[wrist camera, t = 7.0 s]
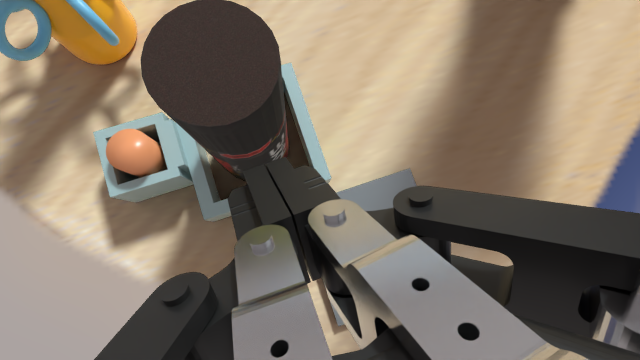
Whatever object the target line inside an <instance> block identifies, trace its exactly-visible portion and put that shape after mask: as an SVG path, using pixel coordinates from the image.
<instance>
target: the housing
mask: <svg viewBox="0 0 640 360" xmlns="http://www.w3.org/2000/svg"><path fill="white" fill-rule="evenodd" d="M281 70H282V81H283V91H284V93H285V96H286V98H287V101H288V104H289V107H290V110H291V113H292V116H293V119H294V122H295V125H296V128H297V131H298V134H299V137H300V139H301V142H302V145H303V148H304V151H305V154H306V157H307V160H308V163H309V166H310V167H312V168H314V169H316V170H317V171H318V172H319V174H320V175H321V177H323V178H324V180H325V181H326V183H329V182H330V180H331V176H330V173H329V170H328V167H327V164H326V162H325V159H324V156H323V153H322V150H321V147H320V144H319V141H318V139H317V136H316V133H315V130H314V127H313V124H312V121H311V118H310V116H309V113H308V110H307V107H306V104H305V101H304V98H303V95H302V93H301V90H300V87H299V84H298V81H297V78H296V75H295V72H294V70H293V67H292V64H291V63H288V64H284V65H281ZM124 129H136V130H139V131H141V132H143V133H144V134H146V135H147V136H149V137H150V138H152V139H153V140H155V141H156V142H158V143H161V147H162V150H163V154H164V157H165V161H166V164H167V168H168V170H164V171H161V172H158V173H155V174H151V175H148V176H145V177H142V178H139V177H137V176H135V175H132V174H129V173H127V172H124V171H121V170H119V169H116V168H115V167H113V166H112V165H111V164H110V163H109V161H108V159H107V157H106V146H107V143H108V141H109V139H110V138H111V137H112V136H113V135H114V134H115V133H117V132H119V131H121V130H124ZM93 133H94V137H95V141H96V145H97V149H98V152H99V156H100V160H101V164H102V168H103V172H104V176H105V180H106V184H107V187H108V191H109V195H110V197H111V198H116V199H121V200H126V201H131V202H140V201H143V200H146V199H149V198H152V197H155V196H159V195H162V194H165V193H168V192H171V191H175V190H178V189H181V188H184V187H187V186H190V185H194V187H195V191H196V194H197V198H198V201H199V204H200V208H201V211H202V215H203V218H204V220H207V221H213V222H214V221H217V220H220V219H223V218H226V217H230V216H231V212H230V208H229V204H228V198H227V199H224V200H221V201H220V198H219V194H218V191H217V188H216V184H215V181H214V178H213V174H212V171H211V168H210V164H209V161H208V158H207V154H206V151H205V149H204V148H203V147H202V146H201V145H200V144H199V143H198V142H197V141H195V140H194V139H193V138H192V137H191V136H190V135H189V134H188V133H187V132H186V131H185V130H184V129H183V128H181V127H180V126H179V125H178V124H177V123H175V122H174V121H173V120H172V119H169V118H168V117H166V116H165V115H164V114H163V113H162V112H161V113H158V114H154V115H151V116H148V117H144V118H141V119H137V120H134V121H130V122H127V123H123V124H120V125H116V126H113V127H109V128H106V129H102V130H99V131H96V132H93Z"/></svg>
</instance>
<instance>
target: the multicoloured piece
mask: <svg viewBox="0 0 640 360" xmlns="http://www.w3.org/2000/svg"><path fill="white" fill-rule="evenodd" d="M23 9H28V10H30V11H31V12H32V13H33V14H34V16H35V18H36V20H37V24H38V33H37V36H36V39H35V41H34V42H33V43H32V44H31V45H30V46H29V47H27V48H24V49H17V48H15V47H13V46H12V45H11V44H10V43H9V42H8V40H7V38H6V34H5V24H6V20H7V18H8V16H9V15H10V14H11V13H12V12H18V11H21V10H23ZM51 37H53V38H54V39H55V40H56V41H58V42H59V43H60V44H61V45H63V46H64V47H65V48H66V49H67V50H69V51H70V52H71V53H72V54H74V55H75V56H76V57H78V58H79V59H81V60H83V61H85V62H88V63H91V64H98V65H103V64H110V63H114V62H116V61H118V60H120V59H122V58H123V57H125V56H126V55H127V54H128V53H129V52H130V51H131V49H132V48H133V46H134V44H135V41H136V37H137V27H136V23H135V20H134V18H133V16H132V15H131V13H130V12H129V11H128V9H127V8H126V7H125V5H124V4H123V3H122V1H121V0H0V52H1V53H3V54H4V55H5V56H7V57H9V58H11V59H14V60H19V61H27V60H32V59H34V58H36V57H38V56H40V55H41V54H42V53H43V52H44V51H45V50H46V48H47V47H48V45H49V42H50V39H51Z"/></svg>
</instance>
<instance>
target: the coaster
mask: <svg viewBox="0 0 640 360" xmlns="http://www.w3.org/2000/svg"><path fill="white" fill-rule="evenodd" d="M415 186H416V183H415V180H414V178H413V175H412V172H411V170H410V168H409V169H406V170H403V171H400V172H397V173H394V174H391V175H388V176H385V177H382V178H379V179H376V180H373V181H370V182H367V183H364V184H361V185H358V186H355V187H352V188H349V189H346V190H343V191H340V192H337V193H336V194H337V195H338V196H339V197H340V198H341V199H344V200H350V201H353V202H355V203H356V204H358V205H359V206H360V207H361V208H362V209H363V210H364V211H376V210H382V209H388V208H393V199H394V197H395V196H396V194H398V193H399V192H400V191H402V190H404V189H407V188H410V187H415ZM324 285H325V284H324ZM325 288H326V287H325ZM330 303H331V302H330ZM331 306H332V309H333V312H334V315H335V319H336V322H337V324H338V326H341V325H343V324H344V322H343V320H342V319H341V317H340V316H339V314H338V313H337V311H336V309H335V308H334V306H333V305H332V303H331Z"/></svg>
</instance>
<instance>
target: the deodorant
mask: <svg viewBox="0 0 640 360" xmlns="http://www.w3.org/2000/svg"><path fill="white" fill-rule="evenodd" d="M141 70H142V78H143V80H144V83H145V86H146V88H147V91H148V93H149V94H150V95H151V97H152V98H153V99H154V101H155V102H156V103H157V105H158V106H159V107H160V108H161V109H162V110H163V111H164V112H165V113H166V114H167V115H168V116H170V117H171V118H172V119H173V120H174V121H175V122H176V123H177V124H178V125H179V126H180V127H181V128H183V129H184V130H185V131H186V132H187V133H188V134H189V135H190V136H191V137H192V138H193V139H194V140H195V141H197V142H198V143H199V144H200V145H201V146H202V147H203V148H204V149H205V150H206V151H207V152H208V153H209V154H211V155H212V156H213V157H214V158H215V159H216V160H217V161H218V162H219V163H220V164H221V165H222V166H223V167H225V168H226V169H227V170H228V171H229V172H230V173H231V174H233V175H234V176H235V177H237V178H240V179H242V180H245V181H246V179H245V176H244V174H243V171H244V170H247V169H250V168H253V167H256V166H259V165H262V164H264V166H265V163H268V162H271V161H274V160H277V159H280V158H283V157H286V158H287V157H288V151H289V142H288V132H287V122H286V111H285V101H284V91H283V81H282V70H281V61H280V53H279V46H278V44H277V41H276V39H275V37H274V35H273V32H272V30H271V29H270V28H269V27H268V26H267V24H266V23H265V22H264V21H263V20H262V18H261V17H259V16H258V15H257V14H255V13H254V12H252V11H251V10H250V9H248V8H247V7H244V6H242V5H239V4H237V3H234V2H232V1H226V0H196V1H192V2H189V3H186V4H183V5H180V6H178V7H177V8H175V9H173V10H172V11H170V12H169V13H167V14H165V15H164V16H163V17H162V18H161V19H160V20H159V21H158V22H157V23H156V24H155V26H154V27H153V28H152V29H151V31H150V33H149V35H148V37H147V39H146V41H145V42H144V46H143V51H142V56H141ZM265 168H266V167H265Z"/></svg>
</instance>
